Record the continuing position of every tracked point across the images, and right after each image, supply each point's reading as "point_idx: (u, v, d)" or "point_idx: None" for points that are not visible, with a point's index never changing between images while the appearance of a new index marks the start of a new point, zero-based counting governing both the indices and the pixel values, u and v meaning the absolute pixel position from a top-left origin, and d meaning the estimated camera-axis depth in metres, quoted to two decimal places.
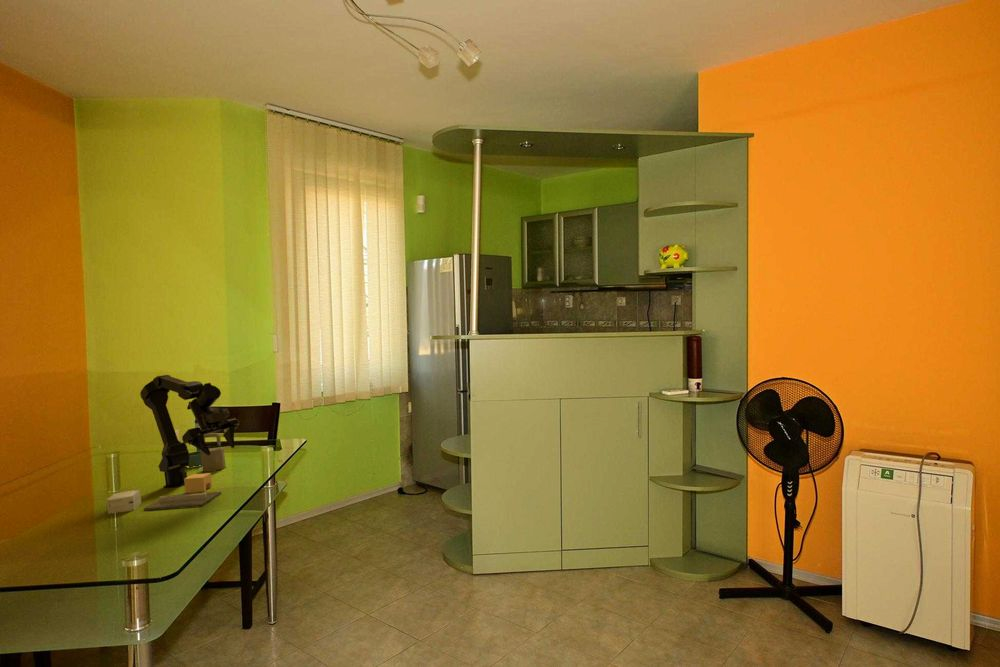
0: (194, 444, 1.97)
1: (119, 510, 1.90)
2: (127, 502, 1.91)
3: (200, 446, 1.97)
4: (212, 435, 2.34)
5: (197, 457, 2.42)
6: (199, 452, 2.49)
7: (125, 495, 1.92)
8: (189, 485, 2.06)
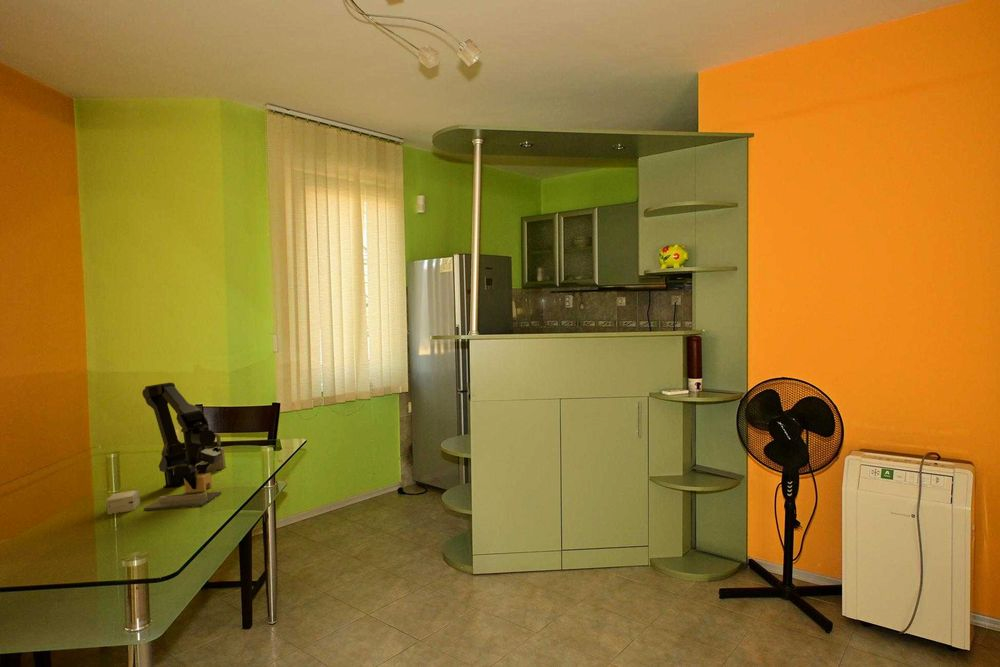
0: (184, 475, 2.03)
1: (119, 510, 1.90)
2: (127, 502, 1.90)
3: (189, 479, 2.04)
4: None
5: None
6: None
7: (125, 495, 1.92)
8: (189, 485, 2.06)
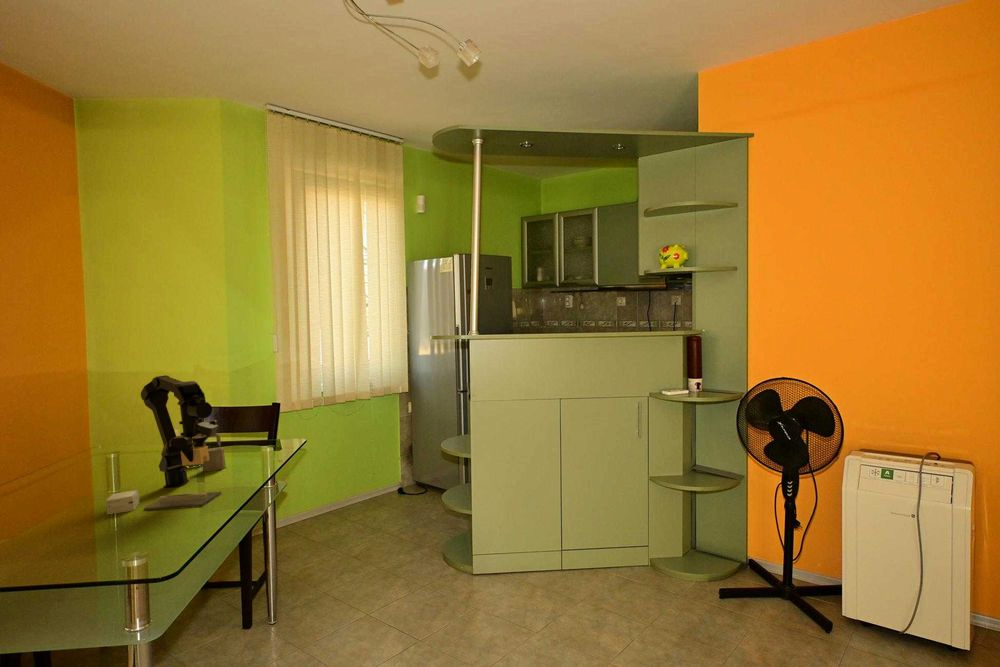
0: (180, 447, 2.03)
1: (119, 510, 1.90)
2: (127, 502, 1.90)
3: (186, 451, 2.03)
4: (212, 435, 2.34)
5: None
6: None
7: (124, 495, 1.92)
8: (185, 458, 2.05)
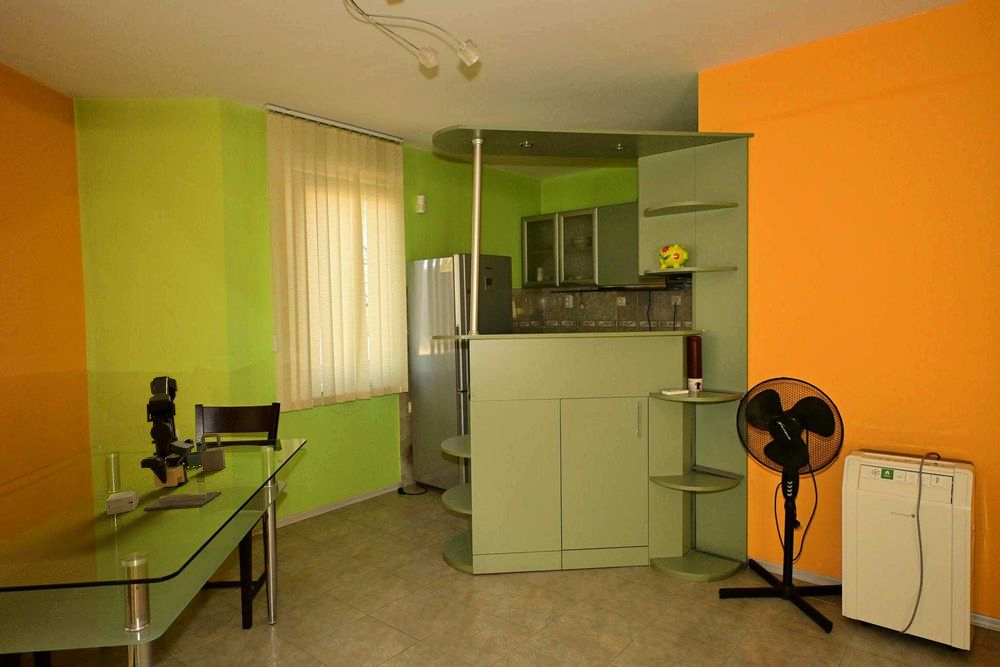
0: (153, 468, 1.90)
1: (118, 510, 1.90)
2: (127, 502, 1.90)
3: (159, 472, 1.91)
4: (212, 435, 2.34)
5: (197, 457, 2.42)
6: (199, 452, 2.49)
7: (124, 495, 1.92)
8: (158, 479, 1.92)
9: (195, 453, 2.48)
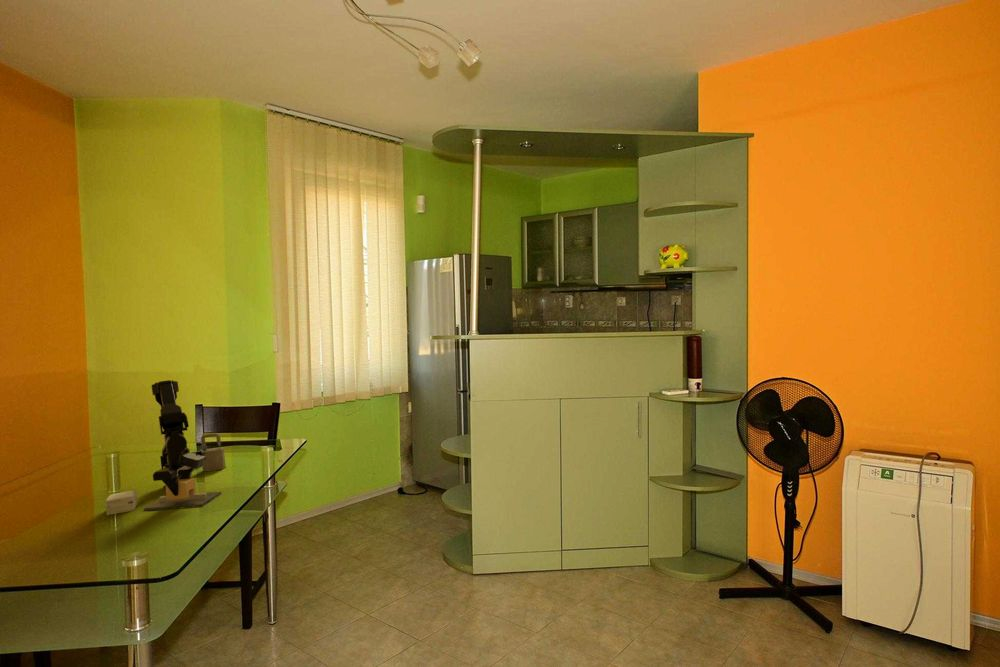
0: (164, 480, 1.90)
1: (118, 511, 1.89)
2: (127, 502, 1.90)
3: (171, 485, 1.91)
4: (212, 435, 2.34)
5: None
6: None
7: (124, 495, 1.92)
8: (170, 491, 1.92)
9: (195, 453, 2.48)
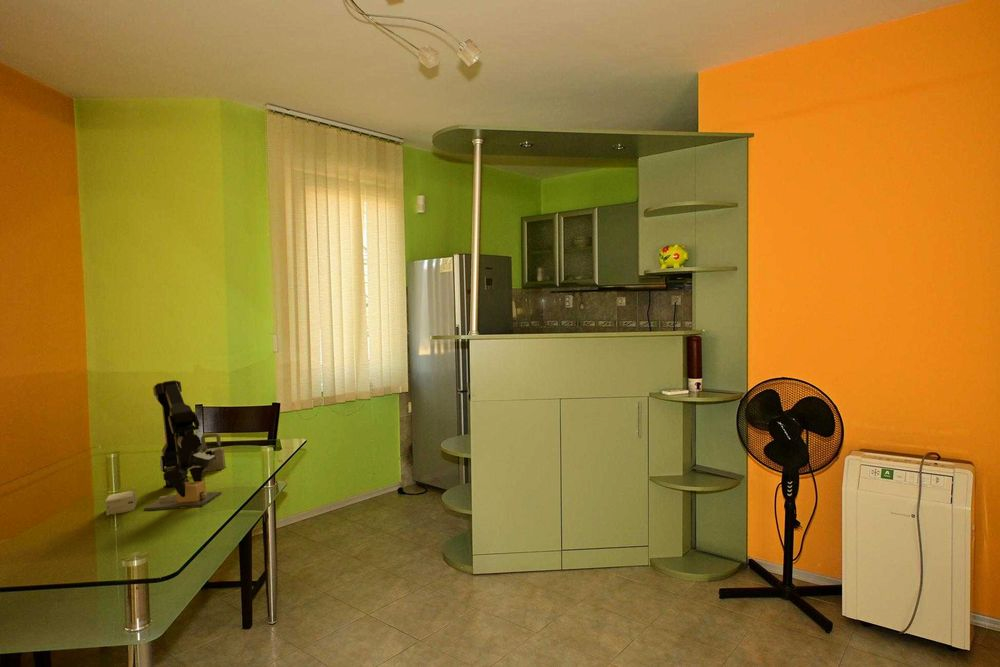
0: (171, 482, 1.88)
1: (118, 511, 1.89)
2: (127, 502, 1.90)
3: (178, 486, 1.89)
4: (212, 435, 2.34)
5: None
6: None
7: (123, 496, 1.91)
8: None
9: None
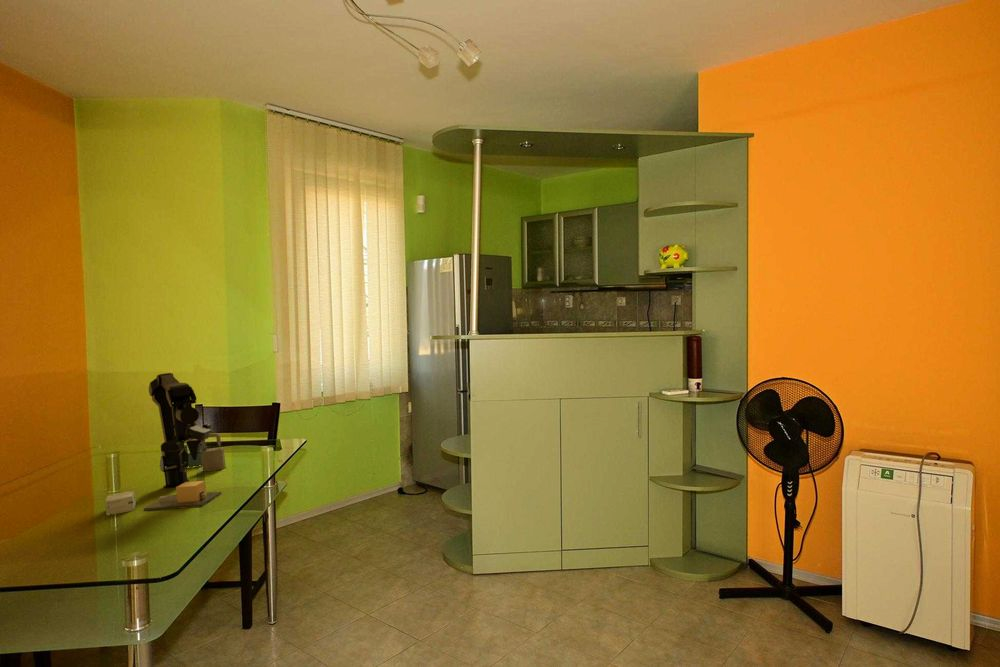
0: (168, 453, 1.95)
1: (118, 511, 1.89)
2: (126, 502, 1.90)
3: (174, 457, 1.96)
4: (212, 435, 2.34)
5: (197, 457, 2.42)
6: (199, 452, 2.49)
7: (123, 496, 1.91)
8: (181, 494, 1.92)
9: None
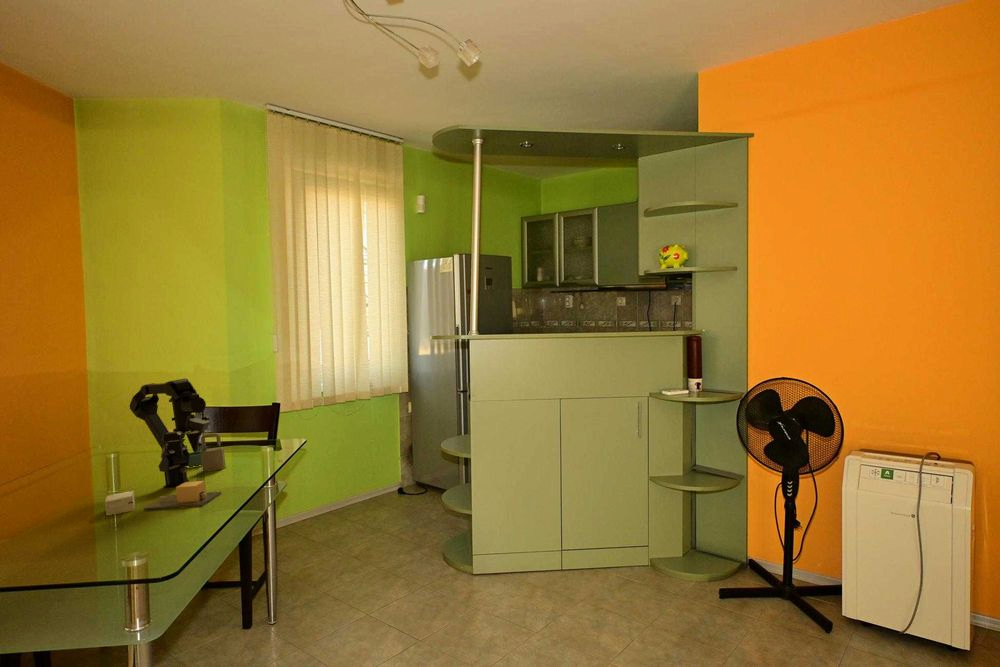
0: (170, 444, 2.06)
1: (118, 511, 1.89)
2: (126, 502, 1.90)
3: (176, 448, 2.06)
4: (212, 435, 2.34)
5: (197, 457, 2.42)
6: (199, 452, 2.49)
7: (123, 496, 1.91)
8: (181, 494, 1.92)
9: (195, 453, 2.48)
